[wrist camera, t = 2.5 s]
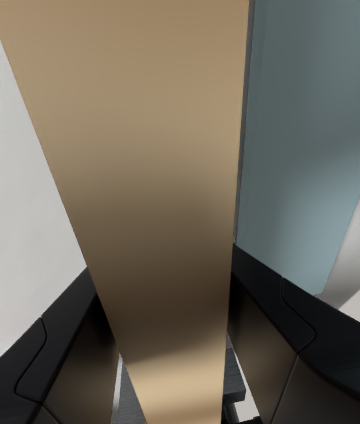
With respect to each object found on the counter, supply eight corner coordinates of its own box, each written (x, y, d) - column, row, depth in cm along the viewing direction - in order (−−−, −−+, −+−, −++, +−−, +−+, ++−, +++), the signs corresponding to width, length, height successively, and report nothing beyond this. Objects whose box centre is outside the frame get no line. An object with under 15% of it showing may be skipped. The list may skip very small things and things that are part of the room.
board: (312, 281, 19) (322, 293, 18) (232, 295, 18) (237, 308, 17) (434, -81, 8) (475, -103, 7) (261, -77, 8) (278, -101, 7)
